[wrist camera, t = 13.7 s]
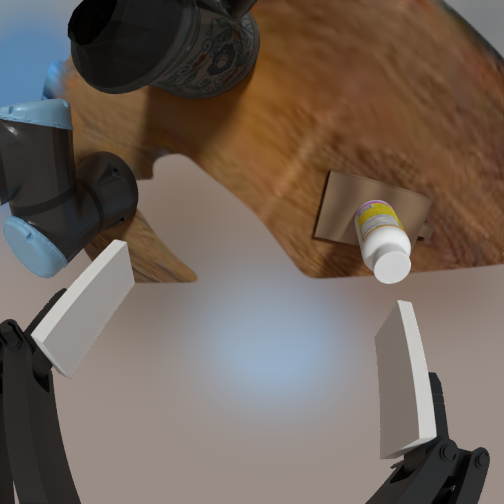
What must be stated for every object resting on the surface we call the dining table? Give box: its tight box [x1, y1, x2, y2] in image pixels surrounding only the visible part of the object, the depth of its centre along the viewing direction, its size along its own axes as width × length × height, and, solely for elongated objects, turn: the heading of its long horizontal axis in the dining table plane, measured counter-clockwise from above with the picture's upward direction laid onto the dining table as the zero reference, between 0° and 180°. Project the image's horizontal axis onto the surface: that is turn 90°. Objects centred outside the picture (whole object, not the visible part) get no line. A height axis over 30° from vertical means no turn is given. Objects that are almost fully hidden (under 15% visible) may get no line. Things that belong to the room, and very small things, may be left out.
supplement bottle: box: [355, 200, 411, 284], centre depth 34 cm, size 7×7×13 cm
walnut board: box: [315, 169, 434, 253], centre depth 40 cm, size 19×11×2 cm, turn 84°
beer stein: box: [68, 0, 260, 99], centre depth 20 cm, size 16×19×25 cm
